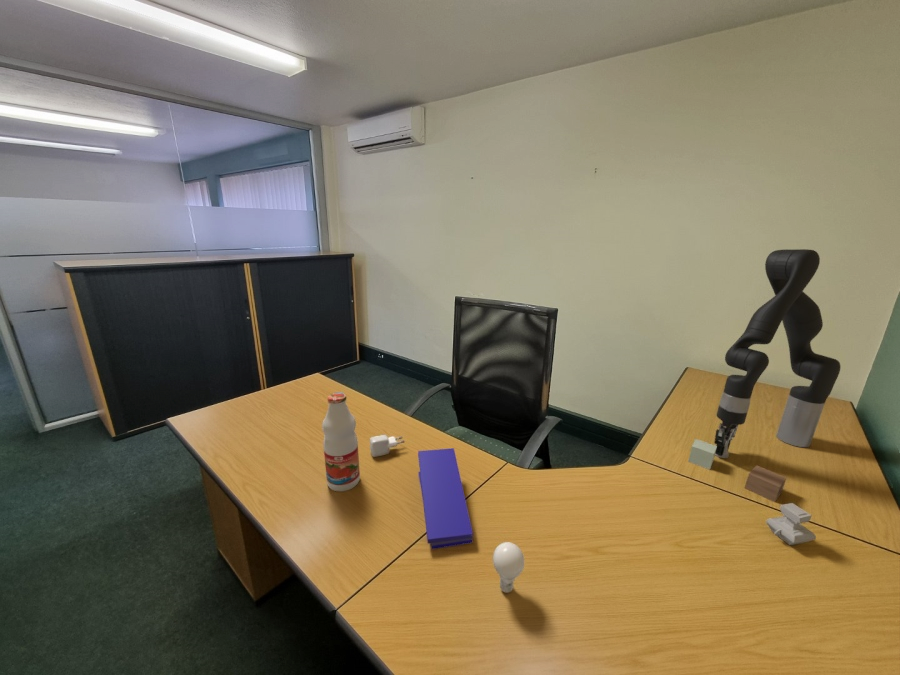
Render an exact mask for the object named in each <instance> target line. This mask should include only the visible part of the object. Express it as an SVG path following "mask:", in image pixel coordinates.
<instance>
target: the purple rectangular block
mask: <svg viewBox="0 0 900 675" xmlns="http://www.w3.org/2000/svg"><path fill="white" fill-rule="evenodd" d="M417 454H418V455H417V457H418V465H419V471H418V480H419V485H420V490H421V496H422V502H423V511H424V522H425V530H426V540H427V544H430V547H431V550H434V549H435V550H436V549H440V548H441V549H442V548H449V547H455V546H460V545H467V544H468V545H469V544H473V536H474V532H473V529H472V524H471V520H470V519H471V518H470V516H469V510H468V505H467V501H466V496H465V493H464V488H463V482H462V479H461V474H460V470H459V466H458V465H459V464H458V461H457V457H456V456H457V455H456V452H455V448H453V447H452V448H451V447H450V448H442V449H441V448H440V449H439V448H438V449H432V450H431V449H429V450H426V449H425V450H418V451H417Z"/></svg>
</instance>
